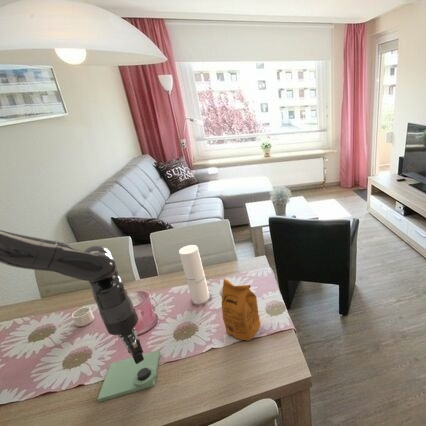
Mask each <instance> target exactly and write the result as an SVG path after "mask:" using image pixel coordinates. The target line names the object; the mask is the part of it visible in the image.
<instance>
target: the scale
mask: <svg viewBox="0 0 426 426" xmlns="http://www.w3.org/2000/svg"><path fill="white" fill-rule="evenodd" d="M160 353H161V350H156V351H151V352H148V353H143V354H142V355H143V358H144V360H143V361H141V362H140V363H138V364H136V363H135V361H134V359H133V357H132V356H131V357H128V358H126V359H121V360H118V361H114V362H110V364H109V367H108V370H107V371H106V375H105V377H104V380H103V383H102V385H101V387H100V388H101V389H100V391H99V394H98V395H97V402H98V403H101V402H105V401H108V400H112V399H116V398H118V397H121V396H125V395H128V394H132V393H135V392H139V391H142V390H145V389H148V388H152V387H155V385H156V379H157V374H158V369H159V364H158V363H160V359H159V357H160V358H161V354H160ZM143 368H148V369H149V371H150V376H149V377H148V378H147V379H145V380H142V381H141V380H139V378H138V376H137V374H138V372H139V371H140V370H141V369H143Z"/></svg>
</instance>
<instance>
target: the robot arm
mask: <svg viewBox="0 0 426 426" xmlns="http://www.w3.org/2000/svg"><path fill="white" fill-rule="evenodd" d="M0 264H3V265H6V266H8V267H14V268H19V269H25V270H33V271H40V272H52V273H56V274H60V275H62V276H66V277H69V278H73V279H77V280H80V281H86V282H88V283H89V286H90V289H91V293H92V296H93V299H94V302H95V304H96V306H97V309H98V312H99V316H100V318H101V320H102V322H103V324H104V327H105V329H106V331H107V333H108V334H110V335H111V336H118V338H119V340H120V341H121V342H122V343H123V345H124V347H125V350H127V352H128V354H130V356H131V358H132V357H133V359H134V361H135V363H136V364H138V363H140V362H141V361H143V360H144V358H143V355H144V349H143V348H142V343H141V340H140V339H139V337H138V332H137V330H136V328H135V327H136V325H137V324H138V321H139V317H138V313H137V312H136V309H135V306H134V304H133V300H132V299H131V297H130V295H129V293H128V291H127V288H126V286H125V283H124V282H123V279H122V278H121V276H120V274H119V271H118V268H117V262H116V260H115V257H114V255H113V252H112V251H111V250H110V249H109V248H107V247H106V246H103V245H91V246H89V247H87V248H85V249H84V250H79V249H76V248H74V247H72V245H70V244H68V243H66V242H64V241H63V242H62V241H59V240H52V239H48V238H43V237H36V236H31V235H25V234H20V233H15V232H11V231H7V230H4V229H3V230H2V229H0Z"/></svg>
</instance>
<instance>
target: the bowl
mask: <svg viewBox="0 0 426 426" xmlns="http://www.w3.org/2000/svg"><path fill="white" fill-rule="evenodd" d="M71 318H72V320H73V323H74V324H75V327H85V326H87V325H89V324H91V323H92V322H93V321H94V319H95V315H94V313H93V311H92V309H91V307H89V306H83V307H81V308H78V309H76V310H75V311H73V313H72V314H71Z"/></svg>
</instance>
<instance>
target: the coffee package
mask: <svg viewBox="0 0 426 426" xmlns="http://www.w3.org/2000/svg"><path fill="white" fill-rule="evenodd" d="M250 288H251V284H242V285H234V284H233V283H232V282H231V281H230V280H229V279H228V278H227V279H226V278H225V279H223V284H222V292H221V313H222V321H223V323H224V328H225V332H226V334H227V335H229V336H233V338H235V339H237V340H240V341H247V342H249V341H251V340H252V339H253V338H254V336H255V335H256V334H257V332H258V331H259V329H260V327H261V321H260V315H259V306H258V305H259V304H258V299H257V298H258V297H257V295H256V294H255V293H254V292H253V291H252V290H251V289H250Z"/></svg>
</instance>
